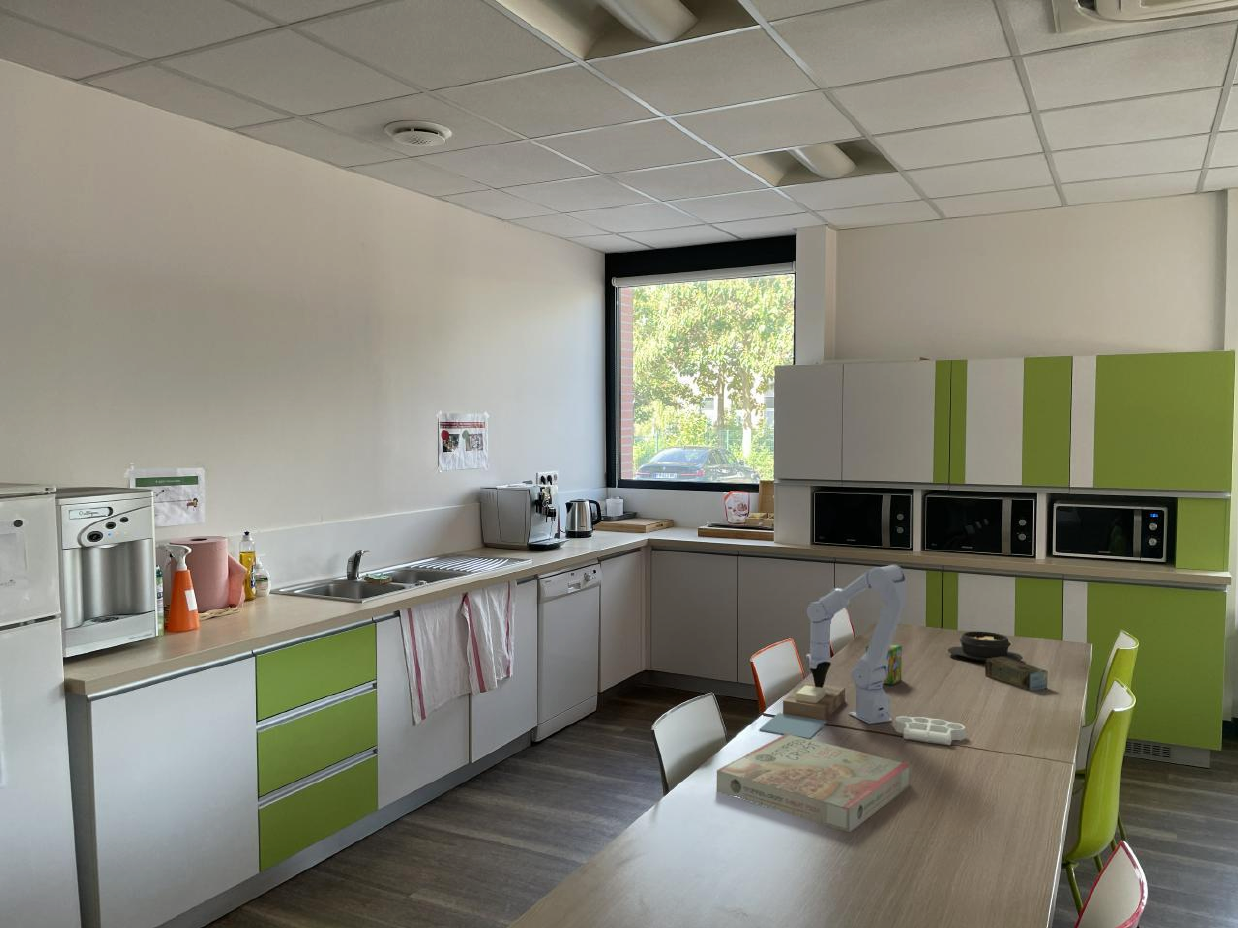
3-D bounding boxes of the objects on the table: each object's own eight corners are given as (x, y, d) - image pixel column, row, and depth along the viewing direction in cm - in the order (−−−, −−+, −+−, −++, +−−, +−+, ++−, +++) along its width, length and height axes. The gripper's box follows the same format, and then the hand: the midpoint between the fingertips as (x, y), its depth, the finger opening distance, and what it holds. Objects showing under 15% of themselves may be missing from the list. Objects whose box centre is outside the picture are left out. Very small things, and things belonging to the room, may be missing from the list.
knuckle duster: (890, 740, 239) (897, 723, 252) (963, 750, 232) (966, 733, 245) (891, 727, 239) (897, 712, 252) (963, 737, 232) (966, 720, 245)
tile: (805, 691, 267) (805, 685, 267) (825, 694, 264) (825, 688, 264) (795, 699, 259) (795, 692, 259) (816, 703, 256) (816, 696, 256)
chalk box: (892, 686, 288) (893, 640, 288) (864, 681, 294) (865, 636, 293) (902, 679, 296) (903, 635, 295) (875, 675, 301) (876, 631, 301)
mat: (778, 714, 259) (778, 712, 259) (826, 722, 252) (826, 720, 252) (759, 730, 245) (759, 728, 245) (809, 739, 238) (809, 737, 238)
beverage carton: (1029, 691, 284) (1030, 671, 284) (983, 676, 302) (983, 656, 301) (1048, 689, 287) (1048, 668, 287) (1001, 674, 305) (1001, 654, 304)
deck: (806, 694, 278) (806, 681, 278) (845, 700, 272) (845, 687, 272) (782, 714, 259) (783, 700, 258) (824, 721, 253) (824, 707, 253)
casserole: (943, 660, 321) (944, 637, 321) (951, 649, 338) (951, 627, 337) (1020, 669, 310) (1021, 645, 309) (1024, 657, 326) (1024, 634, 326)
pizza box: (849, 808, 183) (716, 770, 203) (849, 834, 183) (716, 793, 203) (910, 764, 208) (786, 733, 228) (909, 787, 208) (786, 754, 228)
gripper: (814, 635, 277) (813, 679, 277) (799, 644, 264) (798, 690, 265) (836, 638, 273) (836, 682, 274) (823, 647, 261) (822, 694, 261)
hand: (819, 686), depth 269 cm, fingers closed
